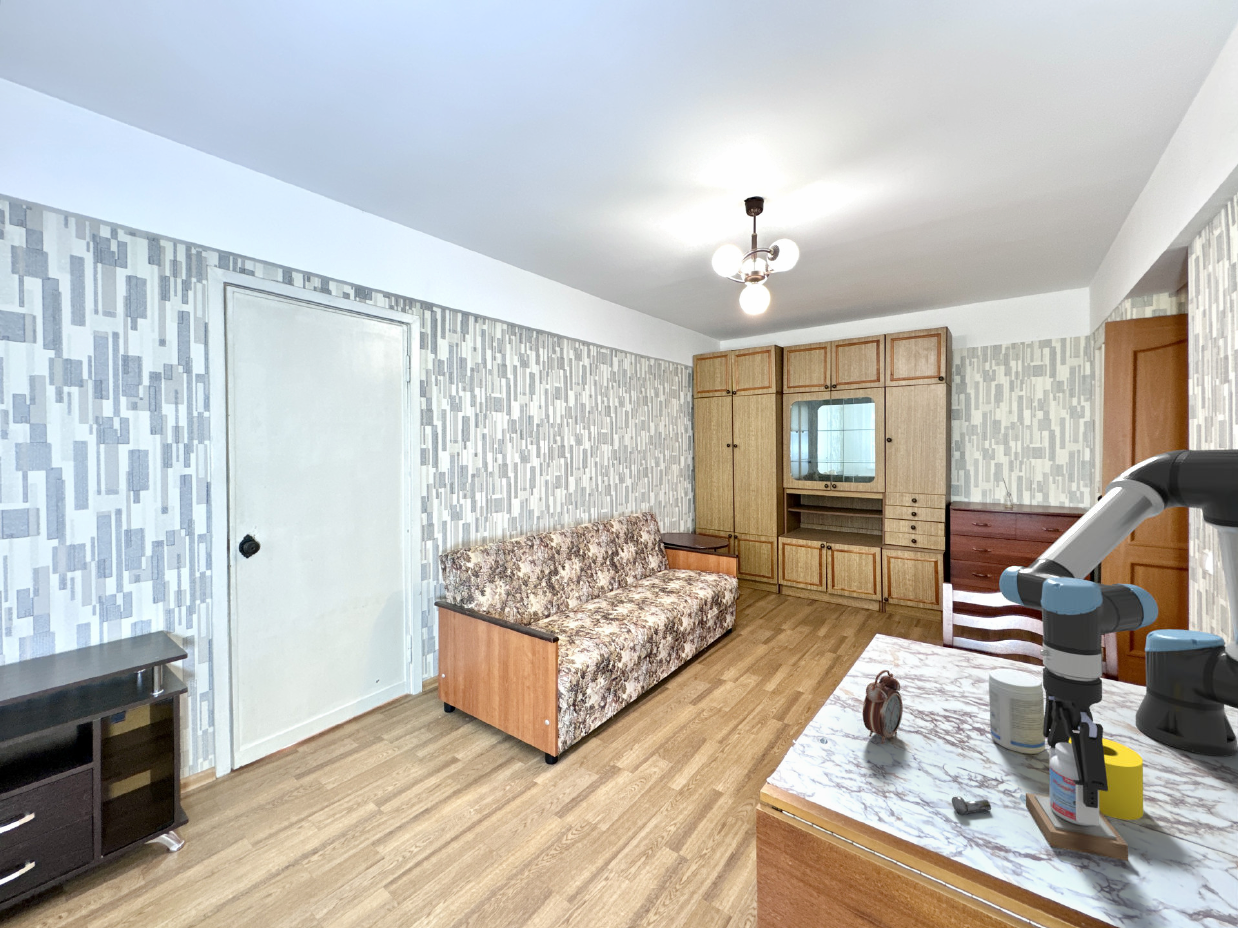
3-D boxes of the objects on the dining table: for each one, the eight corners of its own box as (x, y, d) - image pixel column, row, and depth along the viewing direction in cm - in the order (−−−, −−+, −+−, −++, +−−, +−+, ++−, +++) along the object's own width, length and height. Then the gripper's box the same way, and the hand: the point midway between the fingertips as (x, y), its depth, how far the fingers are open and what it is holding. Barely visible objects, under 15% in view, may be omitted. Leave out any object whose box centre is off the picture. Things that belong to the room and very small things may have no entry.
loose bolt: (981, 804, 95) (981, 790, 95) (993, 814, 92) (993, 799, 92) (951, 807, 94) (951, 793, 94) (962, 817, 92) (962, 803, 92)
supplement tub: (1052, 745, 112) (1051, 678, 112) (1035, 761, 107) (1034, 691, 107) (1000, 726, 120) (999, 664, 120) (981, 740, 115) (980, 675, 115)
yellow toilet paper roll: (1073, 776, 102) (1072, 729, 102) (1145, 800, 94) (1144, 750, 94) (1064, 800, 95) (1063, 749, 95) (1141, 828, 88) (1140, 774, 88)
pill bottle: (1049, 816, 87) (1049, 751, 87) (1049, 797, 92) (1049, 735, 91) (1098, 833, 83) (1098, 765, 83) (1095, 811, 88) (1095, 747, 88)
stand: (1094, 817, 91) (1094, 801, 90) (1128, 860, 81) (1128, 842, 81) (1025, 806, 94) (1025, 790, 94) (1050, 846, 85) (1050, 828, 84)
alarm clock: (882, 749, 113) (881, 681, 112) (861, 740, 117) (859, 674, 116) (905, 731, 119) (903, 667, 119) (883, 723, 123) (882, 661, 123)
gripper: (1019, 646, 98) (1021, 762, 99) (1075, 698, 78) (1077, 844, 79) (1068, 650, 96) (1069, 769, 96) (1139, 705, 75) (1140, 855, 76)
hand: (1073, 803), depth 87 cm, fingers open, 9 cm apart
